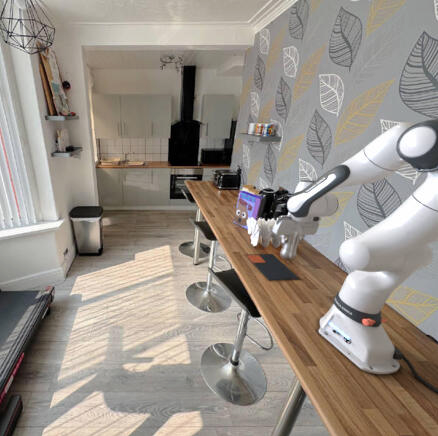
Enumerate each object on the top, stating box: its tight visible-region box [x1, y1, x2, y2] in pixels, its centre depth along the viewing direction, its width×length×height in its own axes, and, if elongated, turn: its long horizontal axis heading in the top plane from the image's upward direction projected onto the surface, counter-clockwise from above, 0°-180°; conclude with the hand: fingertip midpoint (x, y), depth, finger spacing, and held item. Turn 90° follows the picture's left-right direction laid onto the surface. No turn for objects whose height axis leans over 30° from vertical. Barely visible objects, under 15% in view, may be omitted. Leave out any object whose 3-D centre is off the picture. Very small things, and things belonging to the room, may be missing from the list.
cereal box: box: [232, 190, 266, 231], centre depth 163 cm, size 17×5×24 cm, turn 27°
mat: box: [245, 253, 300, 281], centre depth 123 cm, size 22×16×1 cm
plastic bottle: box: [279, 224, 303, 261], centre depth 110 cm, size 6×7×20 cm
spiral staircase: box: [246, 217, 284, 249], centre depth 140 cm, size 18×18×25 cm
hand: (290, 242), depth 111 cm, fingers closed on plastic bottle, 5 cm apart
